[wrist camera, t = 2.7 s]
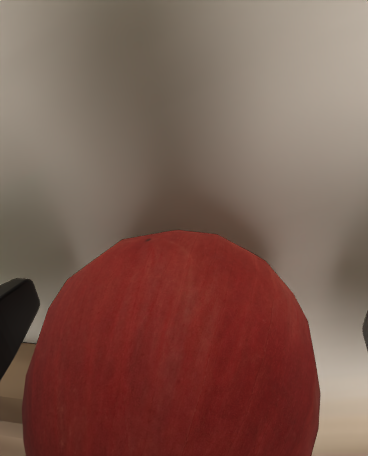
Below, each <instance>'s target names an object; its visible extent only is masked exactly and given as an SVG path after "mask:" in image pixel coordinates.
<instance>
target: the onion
mask: <svg viewBox="0 0 368 456" xmlns="http://www.w3.org/2000/svg"><path fill="white" fill-rule="evenodd" d="M319 409H320V388H319V381H318V375H317V369H316V362H315V356H314V351H313V346H312V340H311V335H310V330H309V324H308V321H307V319H306V317H305V315H304V313H303V311H302V309H301V307H300V305H299V303H298V302H297V300H296V298H295V296H294V294H293V293H292V292H291V290H290V289H289V288H288V287H287V286H286V285H285V283H284V282H283V281H282V280H281V279H280V277H279V276H278V275H277V274H276V273H275V272H274V270H273V269H272V268H271V267H270V266H269V265H268V263H267V262H266V261H265V260H263V259H261V258H260V257H258V256H256V255H255V254H253V253H251V252H250V251H248V250H246V249H244V248H242V247H240V246H238V245H236V244H234V243H233V242H231V241H229V240H227V239H225V238H223V237H221V236H219V235H218V234H209V233H201V232H192V231H183V230H174V231H167V232H161V233H156V234H150V235H144V236H139V237H133V238H127V239H122V240H121V241H119V242H118V243H117V244H115V245H114V246H112V247H111V248H110V249H108V250H107V251H105V252H104V253H103V254H101V255H100V256H99V257H97V258H96V259H94V260H93V261H92V262H90V263H89V264H88V265H86V266H85V267H84V268H82V269H81V270H80V271H78V272H77V273H76V274H74V275H73V276H72V277H70V278H69V279H68V280H67V281H66V282H65V284H64V285H63V287H62V288H61V290H60V292H59V293H58V295H57V296H56V298H55V299H54V301H53V302H52V304H51V305H50V307H49V308H48V311H47V314H46V317H45V320H44V323H43V326H42V329H41V332H40V335H39V338H38V341H37V344H36V347H35V350H34V353H33V356H32V359H31V362H30V365H29V368H28V371H27V374H26V378H25V386H24V394H23V402H22V425H23V443H24V448H25V453H26V456H311V455H312V451H313V447H314V443H315V440H316V436H317V432H318V427H319Z"/></svg>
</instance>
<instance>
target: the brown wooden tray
mask: <svg viewBox="0 0 368 456" xmlns="http://www.w3.org/2000/svg"><path fill="white" fill-rule="evenodd" d="M35 347H36V344H30V343H22V344H21V346H20V348H19V350H18V352H17V354H16V356H15V358H14V359H13V361H12V363H11V364H10V366H9V368H8V369H7V371H6V373H5V374H4V376H3V378H2V379H1V381H0V456H26V453H25V448H24V443H23V425H22V402H23V394H24V386H25V378H26V374H27V371H28V368H29V365H30V362H31V359H32V356H33V353H34V350H35Z"/></svg>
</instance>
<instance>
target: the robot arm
mask: <svg viewBox="0 0 368 456" xmlns="http://www.w3.org/2000/svg"><path fill="white" fill-rule="evenodd" d="M39 306H40V300H39V297H38V294H37V292H36V289H35V286H34V283H33V282H32V281H31V280H30V279H25V278H16V279H13V280H11V281H9V282H6V283H4V284H2V285H0V381H1V379H2V378H3V376H4V374H5V373H6V371H7V369H8V368H9V366H10V364H11V363H12V361H13V359H14V358H15V356H16V354H17V352H18V350H19V348H20V346H21V344H22V342H23V340H24V338H25V336H26V334H27V332H28V330H29V328H30V326H31V324H32V322H33V320H34V318H35V316H36V314H37V312H38V309H39ZM363 336H364V340H365V343H366V347H367V351H368V311H367V314H366V317H365V320H364V323H363Z"/></svg>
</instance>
